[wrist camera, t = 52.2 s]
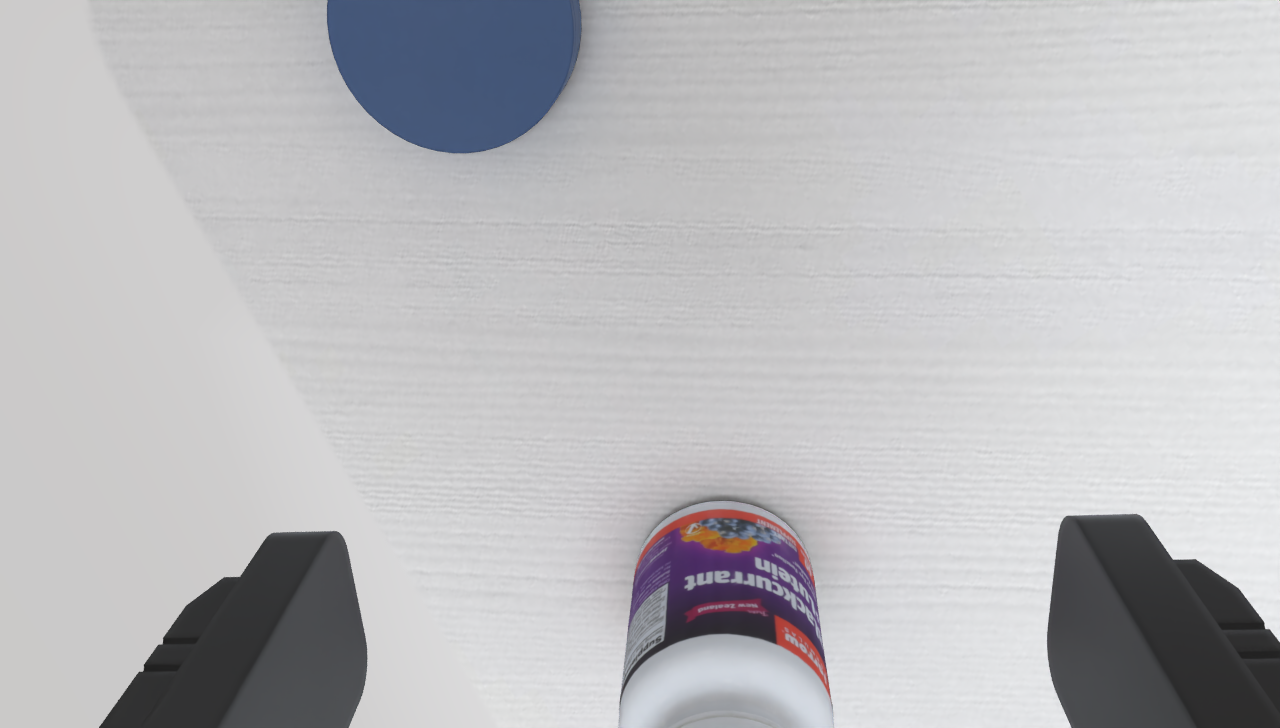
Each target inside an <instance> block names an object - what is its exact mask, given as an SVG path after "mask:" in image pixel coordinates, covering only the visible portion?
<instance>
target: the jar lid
mask: <svg viewBox="0 0 1280 728" xmlns="http://www.w3.org/2000/svg"><path fill="white" fill-rule="evenodd" d="M327 25H328V32H329V40H330V44H331V48H332V52H333V55H334V58H335V61H336V63H337V66H338V69H339V71H340V73H341V75H342V77H343V79H344V81H345V83H346V85H347V87H348V88H349V89H350V91H351V92H352V94H353V95H354V97H355V98H356V100H357V101H358V102H359V103H360V104H361V106H362V107H363V108H364V109H365V110H366V111H367V112H368V113H369V114H370V115H371V116H372V117H373V118H374V119H375V120H376V121H377V122H378V123H379V124H381V125H382V126H384V127H385V128H386V129H388V130H389V131H391V132H392V133H393V134H395V135H397V136H399V137H401V138H402V139H404V140H406V141H408V142H411V143H413V144H416V145H418V146H421V147H423V148H427V149H431V150H435V151H440V152H448V153H473V152H481V151H486V150H489V149H493V148H497V147H499V146H502V145H504V144H506V143H509V142H511V141H513V140H515V139H516V138H518V137H520V136H521V135H523V134H525V133H526V132H527V131H528V130H530V129H531V128H532V127H533V126H535V125H536V124H537V123H538V122H539V121H540V120H541V119H542V118H543V116H544V115H545V114H546V113H547V112H548V111H549V109H550V108H551V106H552V105H553V104H554V102H555V101H556V99H557V98H558V96H559V95H560V93H561V92H562V90H563V89H564V87H565V86H566V84H567V82H568V80H569V78H570V76H571V74H572V71H573V68H574V66H575V63H576V60H577V56H578V51H579V47H580V38H581V11H580V4H579V0H328V3H327Z"/></svg>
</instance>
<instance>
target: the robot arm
mask: <svg viewBox="0 0 1280 728" xmlns="http://www.w3.org/2000/svg"><path fill="white" fill-rule="evenodd" d="M1047 651H1048V660H1049V667H1050V673H1051V677H1052V681H1053V684H1054V688H1055V690H1056V693H1057V695H1058V698H1059V700H1060V702H1061V705H1062V707H1063V709H1064V711H1065V714H1066V716H1067V718H1068V721H1069V723H1070V725H1071V727H1072V728H1280V642H1279V641H1278V640H1277V638H1276V637H1275V636H1274V634H1273V633H1272V632H1271V631H1270V629H1265V626H1264V621H1263V620H1262V619H1261V617H1260V616H1259V615H1258V613H1257V612H1256V611H1255V610H1254V608H1253V607H1252V606H1251V604H1250V603H1249V602H1248V600H1247V599H1246V598H1245V596H1244V595H1243V594H1242V592H1241V591H1240V590H1239V588H1237V587H1236V586H1234V585H1233V584H1231V583H1230V582H1228V581H1227V580H1225V579H1224V578H1222V577H1221V576H1219V575H1218V574H1216V573H1215V572H1213V571H1212V570H1211V569H1209V568H1208V567H1206V566H1205V565H1203V564H1202V563H1200V562H1199V561H1197V560H1196V559H1192V560H1173V559H1172V558H1171V556H1170V555H1169V554H1168V552H1167V551H1166V549H1165V548H1164V546H1163V545H1162V544H1161V542H1160V541H1159V539H1158V538H1157V536H1156V535H1155V533H1154V532H1153V531H1152V529H1151V528H1150V526H1149V525H1148V523H1147V522H1146V521H1145V520H1144V518H1143V517H1141V516H1140V515H1137V514H1122V515H1080V516H1066V517H1065V518H1064V519H1063V521H1062V523H1061V525H1060V529H1059V534H1058V541H1057V550H1056V559H1055V568H1054V577H1053V586H1052V595H1051V604H1050V613H1049V622H1048V632H1047ZM366 672H367V645H366V638H365V633H364V628H363V623H362V619H361V613H360V608H359V603H358V598H357V593H356V589H355V584H354V579H353V573H352V569H351V564H350V559H349V554H348V549H347V545H346V543H345V540H344V538H343V536H342V535H341V534H340V533H339V532H337V531H327V532H326V531H324V532H283V533H272V534H270V535H269V536H268V537H267V538H266V539H265V541H264V542H263V543H262V545H261V546H260V548H259V550H258V551H257V552H256V554H255V555H254V557H253V558H252V560H251V561H250V563H249V564H248V566H247V567H246V569H245V571H244V572H243V573H242V575H241V577H224V578H223V579H221V580H220V581H219V582H217V583H216V584H215V585H213V586H212V587H211V588H209V589H208V590H207V591H205V592H204V593H203V594H201V595H200V596H199V597H197V598H196V599H195V600H193V601H192V602H191V603H189V604H188V605H187V606H186V607H185V608H184V610H183V611H182V613H181V614H180V615H179V617H178V618H177V620H176V621H175V622H174V624H173V625H172V626H171V628H170V629H169V631H168V632H167V633H166V635H165V636H164V638H163V644H162V645H158V646H157V647H156V649H155V650H154V652H153V653H152V654H151V656H150V657H149V659H148V660H147V661H146V663H145V664H144V671H143V672H139V673H138V674H137V675H136V677H135V678H134V679H133V681H132V682H131V684H130V685H129V686H128V688H127V689H126V691H125V692H124V694H123V695H122V696H121V698H120V699H119V700H118V702H117V703H116V705H115V706H114V707H113V709H112V710H111V712H110V713H109V714H108V716H107V717H106V719H105V720H104V722H103V723H102V724H101V726H100V727H99V728H349V725H350V723H351V721H352V718H353V716H354V713H355V711H356V708H357V706H358V704H359V702H360V699H361V696H362V693H363V690H364V685H365V679H366Z"/></svg>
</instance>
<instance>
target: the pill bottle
mask: <svg viewBox="0 0 1280 728" xmlns="http://www.w3.org/2000/svg"><path fill="white" fill-rule="evenodd" d="M619 728H834V720H833V706H832V702H831V696H830V689H829V682H828V676H827V669H826V663H825V656H824V649H823V643H822V636H821V628H820V621H819V614H818V606H817V598H816V591H815V582H814V576H813V572H812V568H811V563H810V559H809V556H808V553H807V551H806V549H805V547H804V545H803V543H802V541H801V540H800V538H799V537H798V536H797V534H796V533H795V532H794V531H793V530H792V529H791V528H790V527H789V526H788V525H787V524H786V523H785V522H784V521H782V520H781V519H779V518H778V517H777V516H775V515H773V514H772V513H770V512H768V511H766V510H764V509H762V508H759V507H756V506H753V505H750V504H745V503H740V502H733V501H711V502H704V503H699V504H695V505H692V506H689V507H686V508H684V509H682V510H680V511H678V512H676V513H674V514H672V515H671V516H669V517H667V518H666V519H665V520H663V521H662V522H661V523H660V524H659V525H658V526H657V527H656V528H655V529H654V530H653V531H652V532H651V534H650V535H649V537H648V538H647V539H646V541H645V543H644V544H643V547H642V549H641V551H640V554H639V556H638V560H637V565H636V570H635V575H634V582H633V591H632V601H631V609H630V617H629V626H628V635H627V644H626V653H625V662H624V671H623V681H622V689H621V696H620V708H619Z"/></svg>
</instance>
